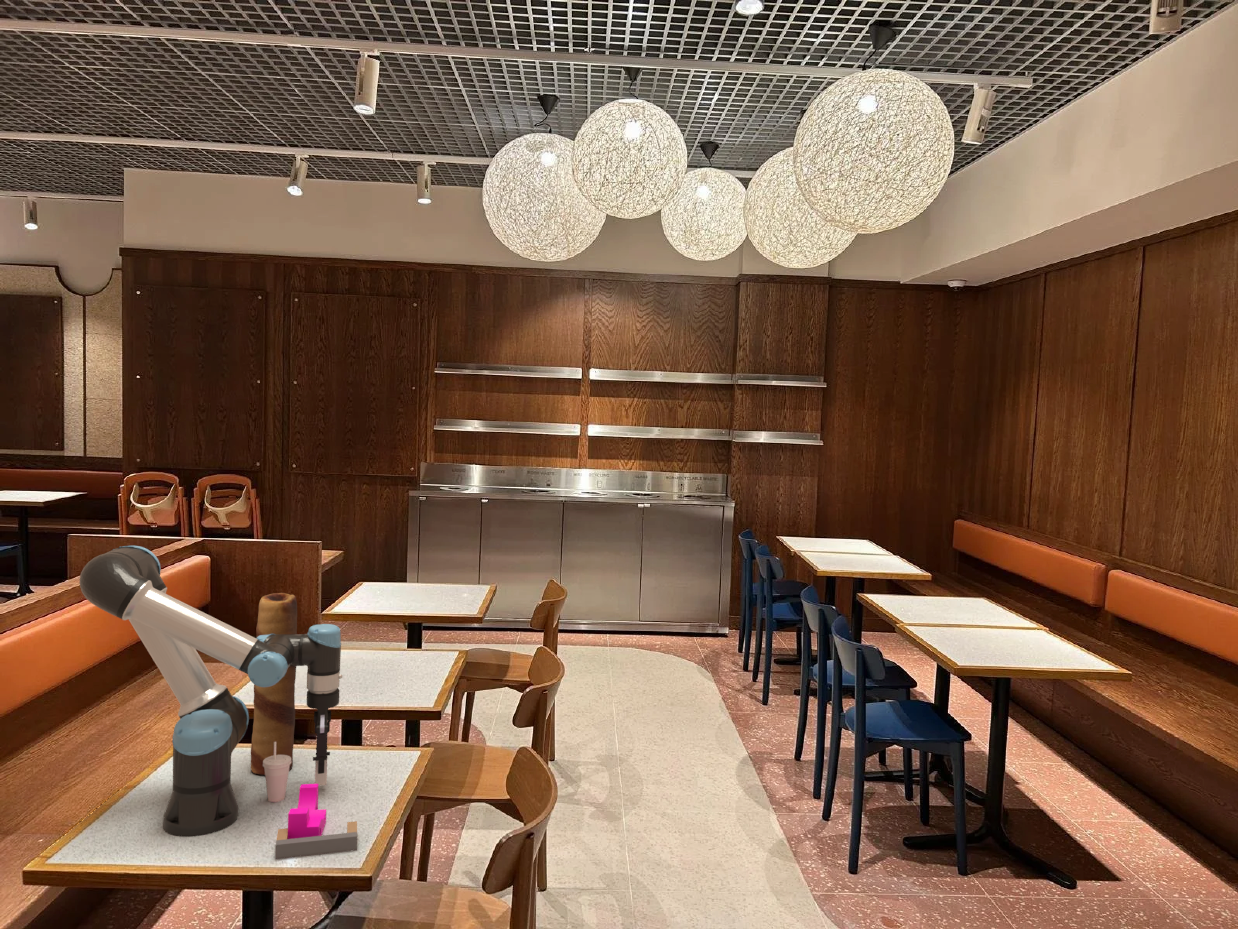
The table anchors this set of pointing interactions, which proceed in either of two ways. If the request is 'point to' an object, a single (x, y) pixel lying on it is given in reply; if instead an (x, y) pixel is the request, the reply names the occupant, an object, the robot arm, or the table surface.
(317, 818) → the toy block
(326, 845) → the stop board
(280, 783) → the smoothie
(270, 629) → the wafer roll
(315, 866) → the table surface
